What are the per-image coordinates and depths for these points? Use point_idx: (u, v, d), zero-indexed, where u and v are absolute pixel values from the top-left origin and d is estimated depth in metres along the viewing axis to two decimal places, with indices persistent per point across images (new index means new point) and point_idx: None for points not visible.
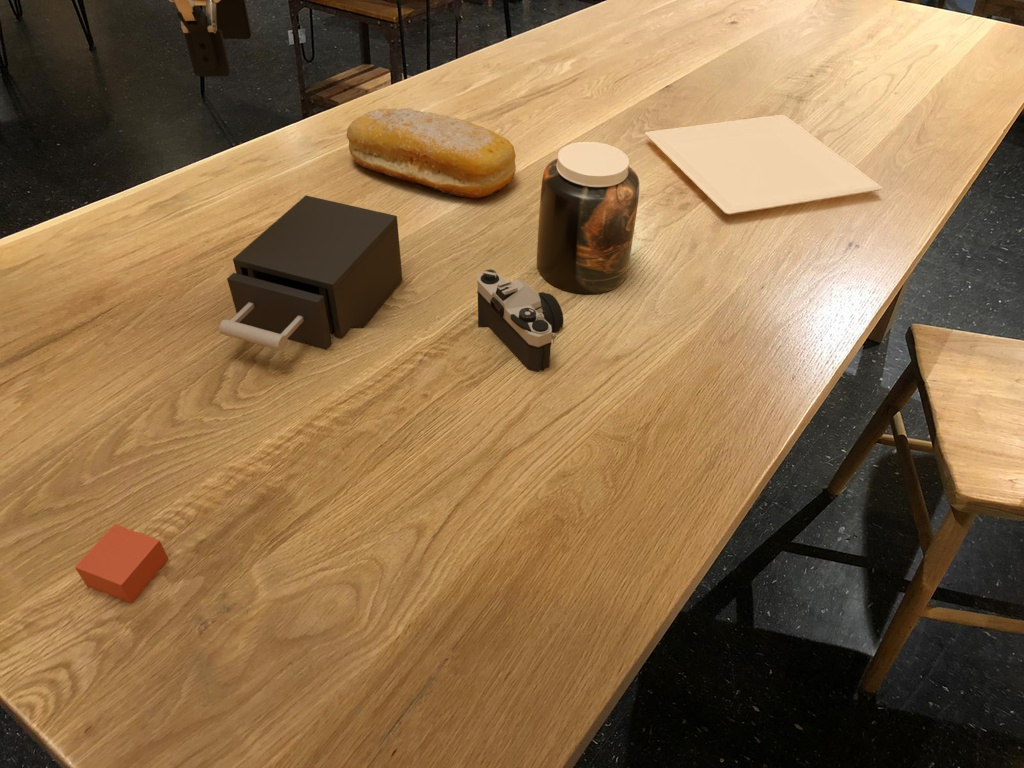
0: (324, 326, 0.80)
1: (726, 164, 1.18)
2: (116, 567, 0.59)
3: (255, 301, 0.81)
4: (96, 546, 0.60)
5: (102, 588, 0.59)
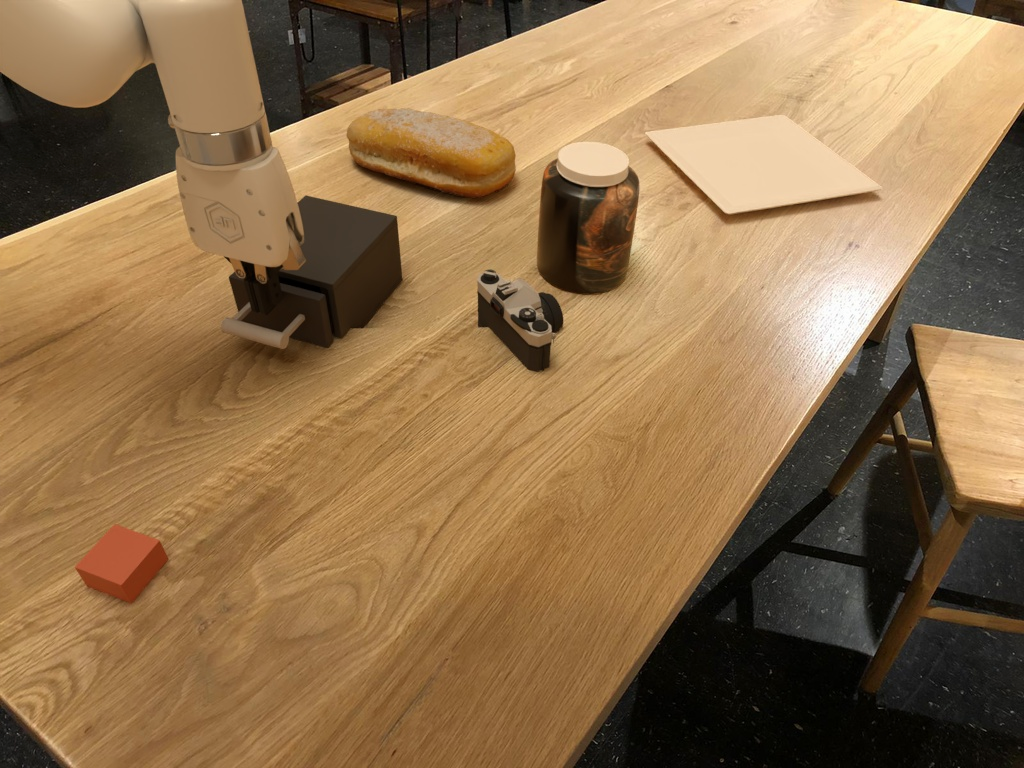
0: (325, 324, 0.80)
1: (726, 164, 1.18)
2: (116, 567, 0.59)
3: None
4: (96, 546, 0.60)
5: (102, 588, 0.59)
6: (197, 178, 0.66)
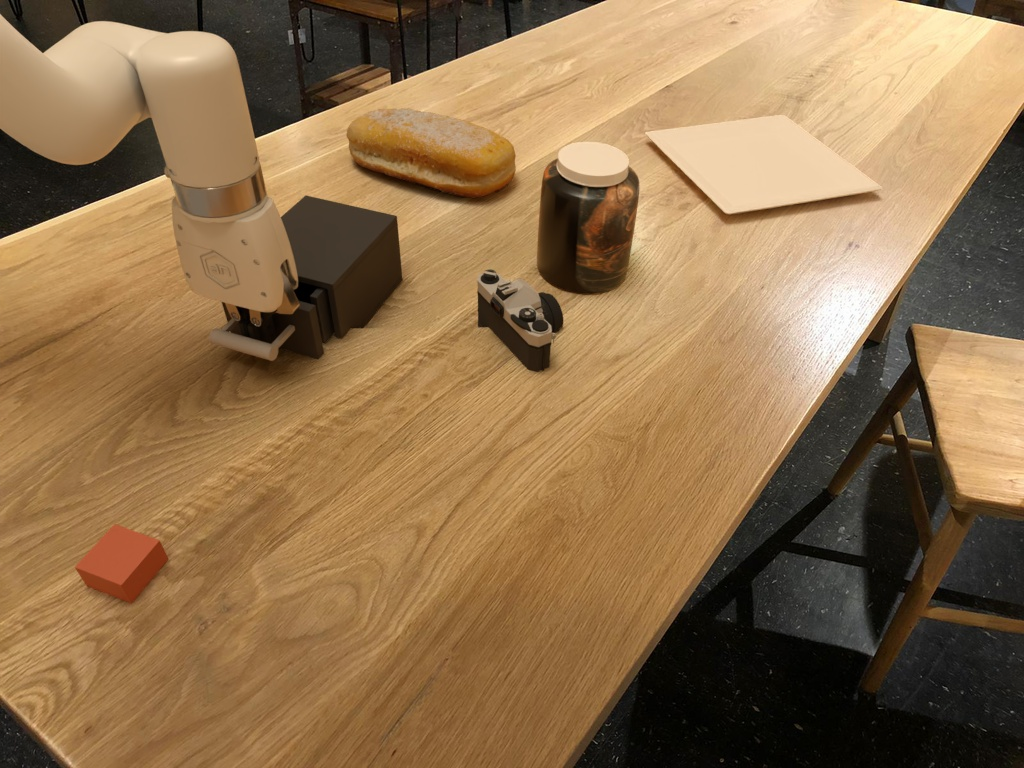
0: (316, 335, 0.79)
1: (726, 164, 1.18)
2: (116, 567, 0.59)
3: None
4: (96, 546, 0.60)
5: (102, 588, 0.59)
6: (193, 228, 0.68)
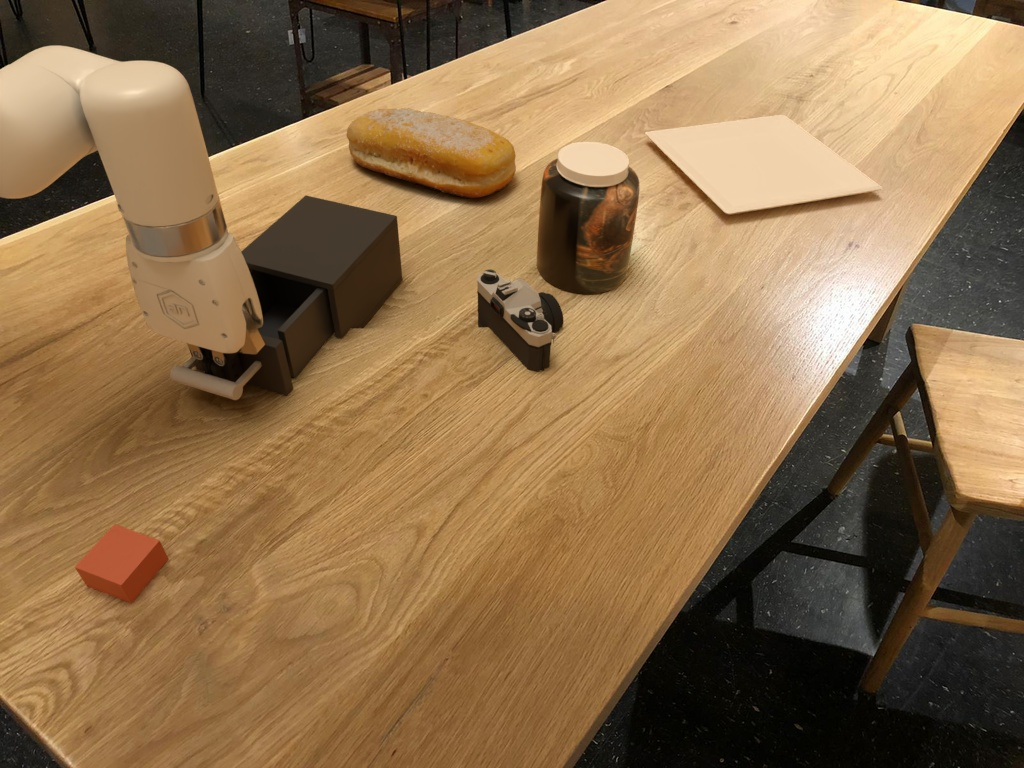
0: (284, 372, 0.75)
1: (726, 164, 1.18)
2: (116, 567, 0.59)
3: None
4: (96, 546, 0.60)
5: (102, 588, 0.59)
6: (148, 266, 0.64)
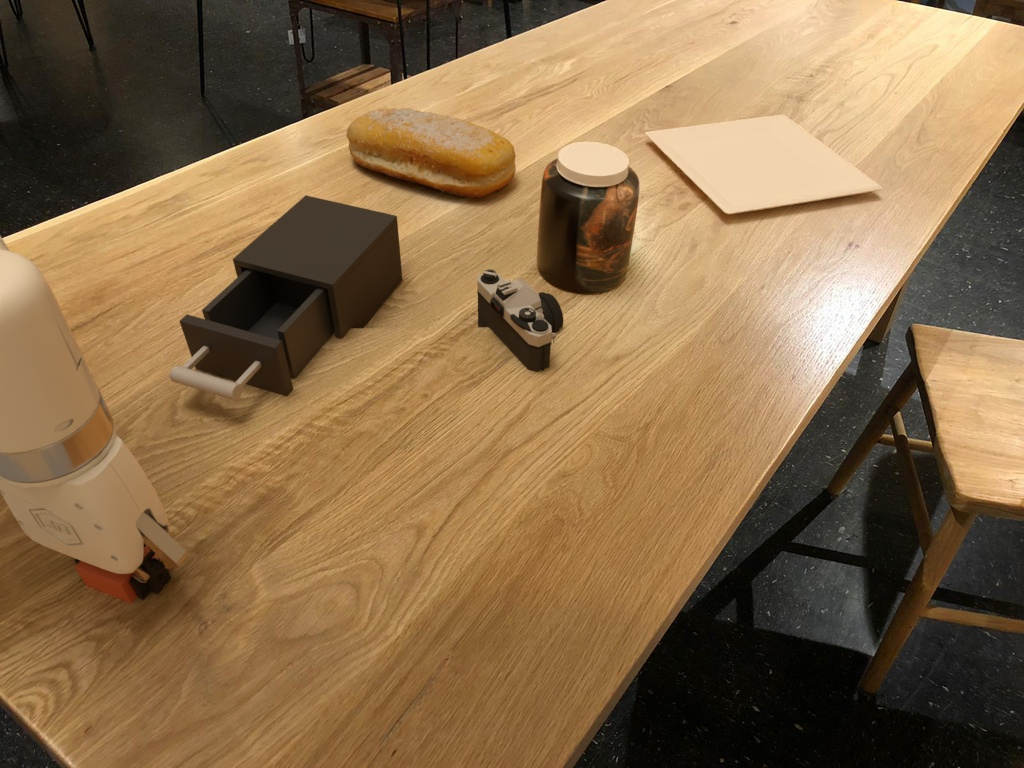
0: (283, 372, 0.75)
1: (726, 164, 1.18)
2: None
3: (210, 344, 0.75)
4: None
5: (102, 588, 0.59)
6: None
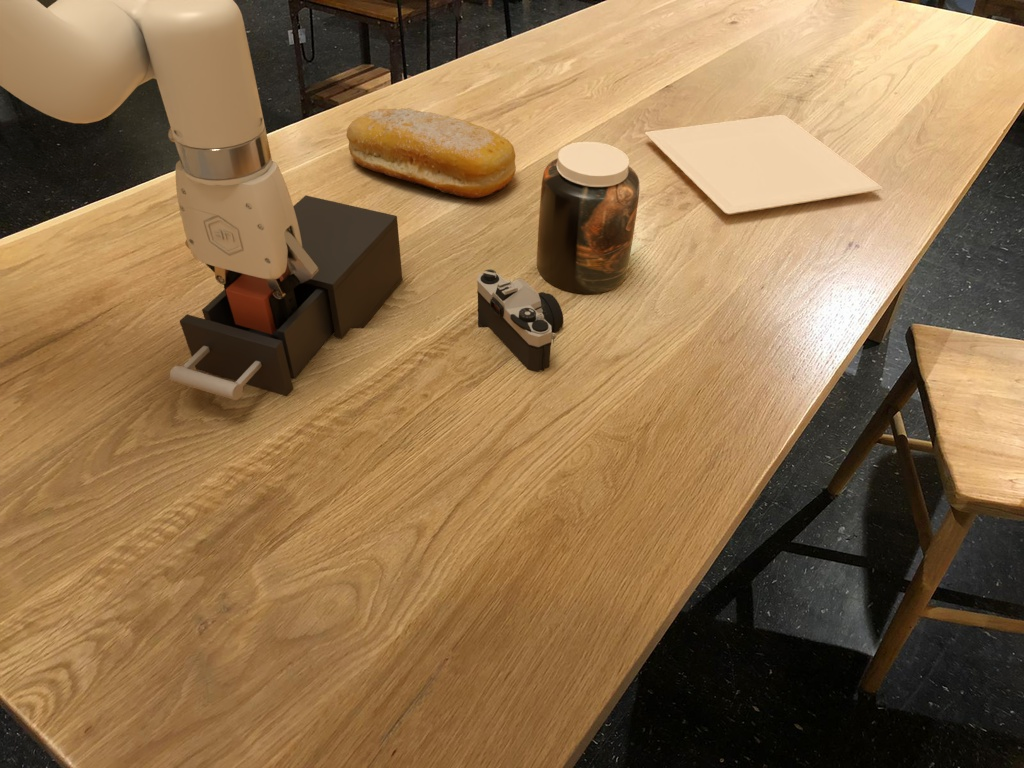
0: (283, 372, 0.75)
1: (726, 164, 1.18)
2: (258, 289, 0.75)
3: (210, 344, 0.75)
4: (239, 278, 0.76)
5: (246, 308, 0.76)
6: (196, 192, 0.67)
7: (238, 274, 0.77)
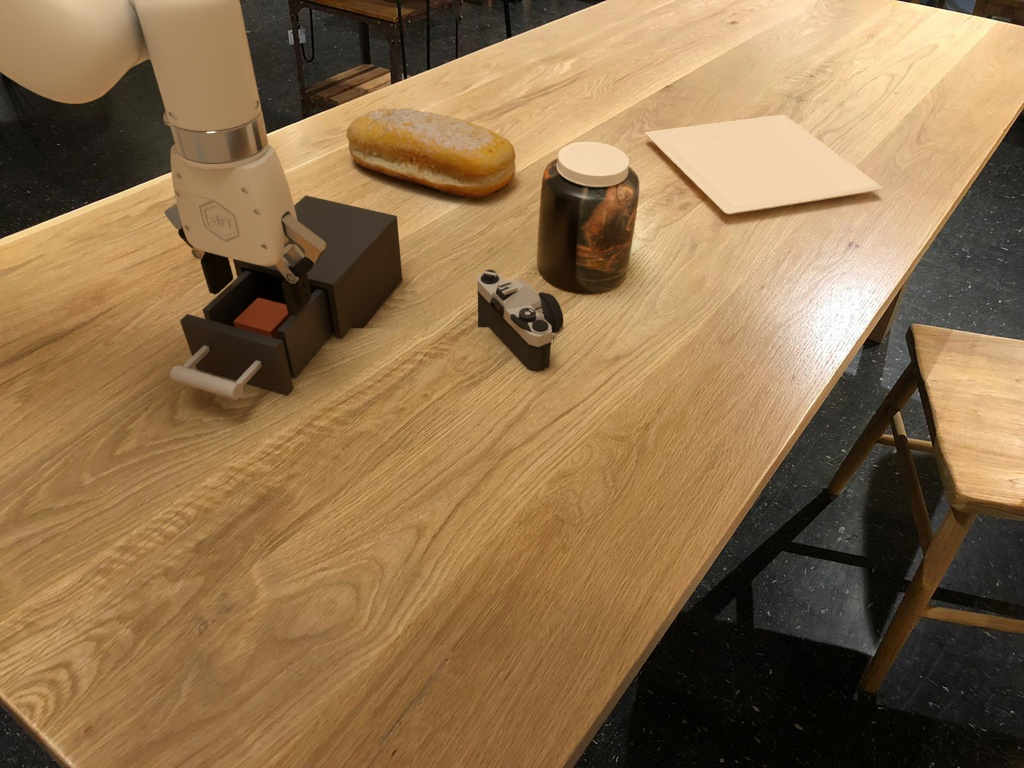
0: (284, 371, 0.75)
1: (726, 164, 1.18)
2: (265, 321, 0.78)
3: (210, 344, 0.75)
4: (247, 309, 0.79)
5: None
6: (192, 176, 0.66)
7: None
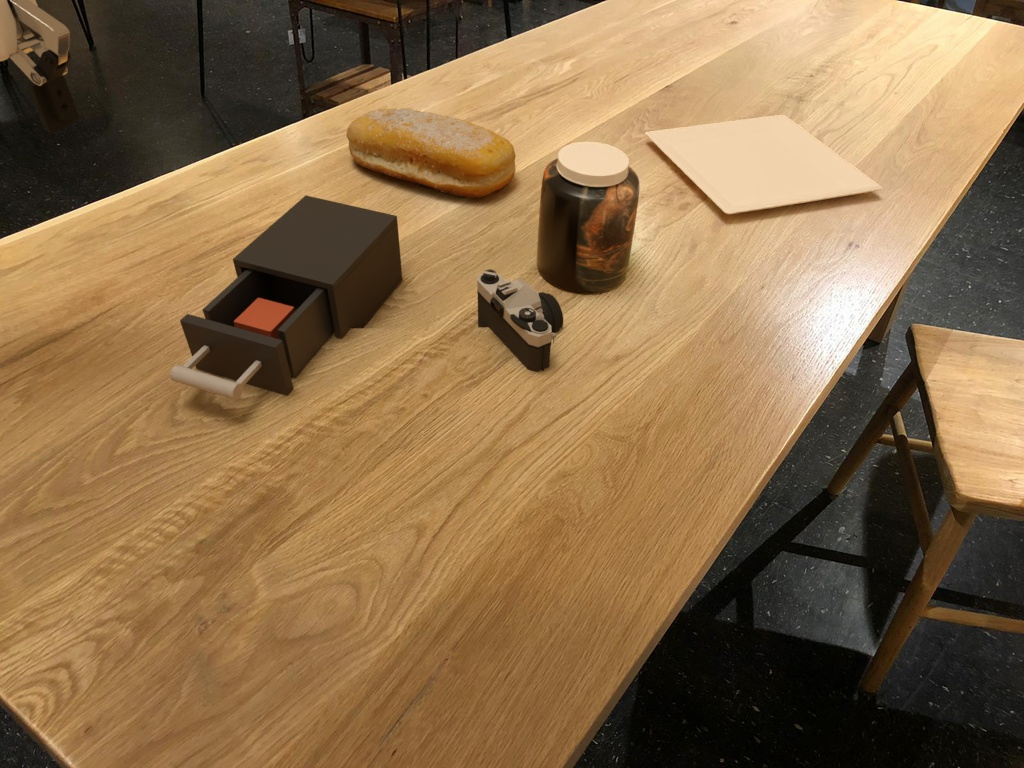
0: (284, 371, 0.75)
1: (726, 164, 1.18)
2: (265, 321, 0.78)
3: (210, 344, 0.75)
4: (247, 309, 0.79)
5: None
6: None
7: None
